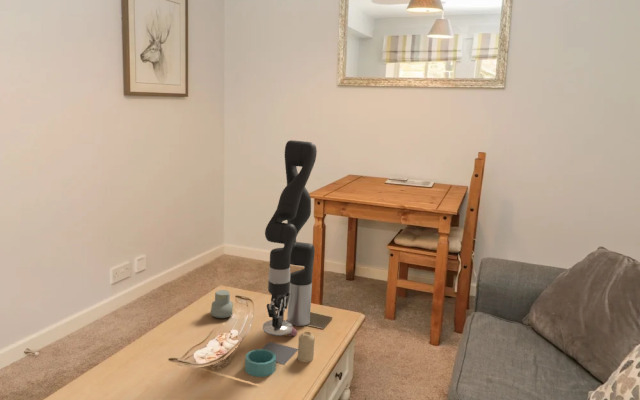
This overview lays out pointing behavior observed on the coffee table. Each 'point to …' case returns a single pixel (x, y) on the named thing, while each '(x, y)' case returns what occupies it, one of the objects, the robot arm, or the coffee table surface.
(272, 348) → the mat
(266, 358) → the bowl
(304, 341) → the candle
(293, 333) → the purple rounded lump
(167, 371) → the coffee table surface
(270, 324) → the lid
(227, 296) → the air freshener
